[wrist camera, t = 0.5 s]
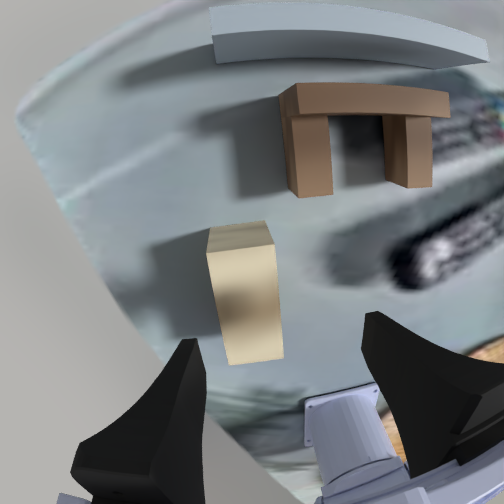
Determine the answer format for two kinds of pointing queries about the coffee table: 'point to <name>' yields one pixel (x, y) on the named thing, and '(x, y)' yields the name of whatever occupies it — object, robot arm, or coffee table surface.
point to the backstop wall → (338, 35)
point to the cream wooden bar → (246, 291)
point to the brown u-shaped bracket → (358, 103)
